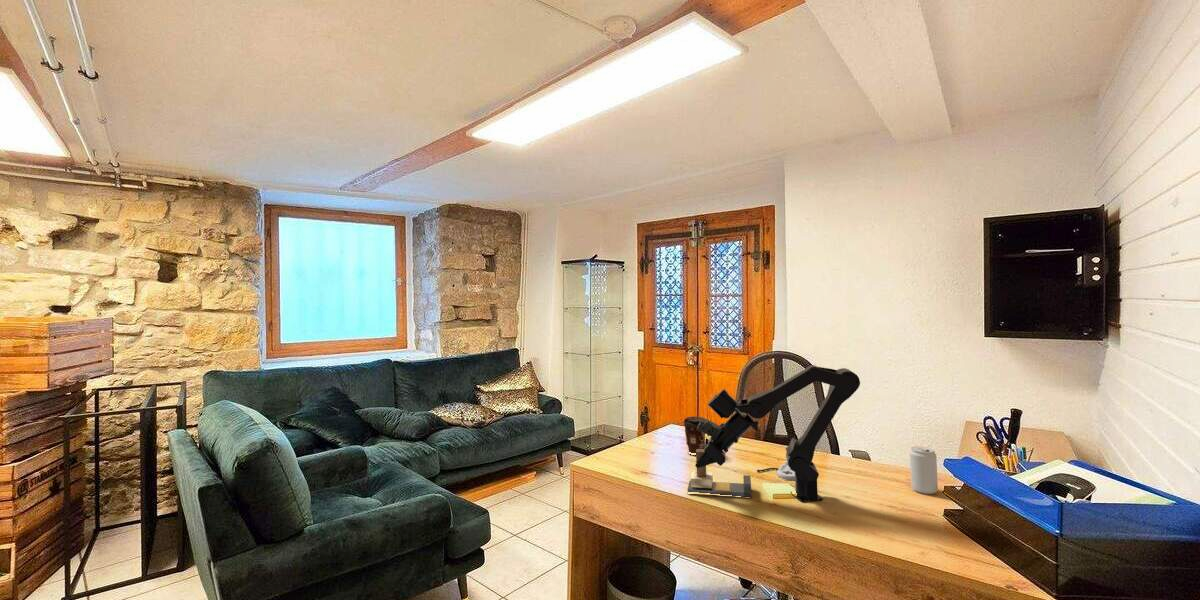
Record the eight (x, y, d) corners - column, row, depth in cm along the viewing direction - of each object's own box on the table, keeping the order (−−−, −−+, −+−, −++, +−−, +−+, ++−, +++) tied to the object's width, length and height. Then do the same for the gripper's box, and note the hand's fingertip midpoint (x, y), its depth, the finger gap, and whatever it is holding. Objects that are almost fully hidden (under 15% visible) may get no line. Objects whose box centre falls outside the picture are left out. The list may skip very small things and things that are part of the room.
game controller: (796, 483, 152) (796, 477, 152) (754, 476, 159) (754, 470, 159) (805, 467, 165) (805, 462, 165) (766, 462, 172) (766, 456, 172)
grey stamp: (712, 480, 150) (711, 447, 150) (711, 488, 145) (710, 454, 145) (692, 479, 152) (691, 447, 152) (691, 487, 146) (689, 453, 146)
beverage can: (925, 496, 138) (924, 453, 138) (905, 488, 144) (904, 447, 144) (943, 493, 139) (941, 450, 139) (923, 485, 146) (921, 444, 146)
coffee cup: (679, 454, 183) (678, 418, 183) (692, 448, 189) (691, 414, 189) (699, 458, 177) (698, 422, 177) (712, 453, 183) (710, 417, 183)
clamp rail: (750, 489, 148) (750, 475, 148) (751, 498, 141) (751, 484, 141) (689, 485, 153) (689, 472, 153) (687, 494, 146) (687, 480, 146)
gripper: (713, 402, 156) (680, 436, 159) (711, 417, 138) (673, 455, 141) (740, 428, 154) (706, 462, 157) (741, 446, 136) (702, 484, 139)
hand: (696, 465), depth 149 cm, fingers closed on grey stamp, 3 cm apart
